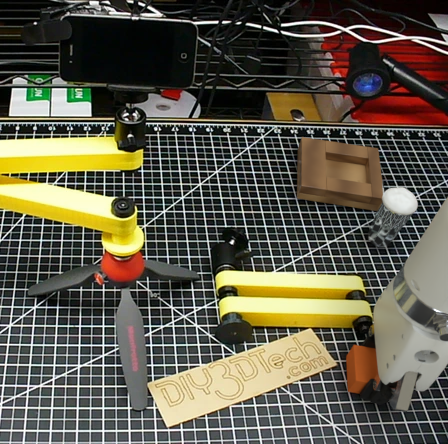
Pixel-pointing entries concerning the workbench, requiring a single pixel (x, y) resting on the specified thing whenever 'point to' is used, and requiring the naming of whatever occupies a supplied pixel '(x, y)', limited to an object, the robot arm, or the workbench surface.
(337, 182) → the wooden tray
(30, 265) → the workbench surface
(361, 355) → the orange block
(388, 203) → the milkshake
